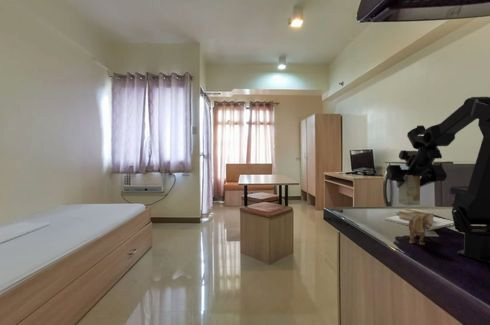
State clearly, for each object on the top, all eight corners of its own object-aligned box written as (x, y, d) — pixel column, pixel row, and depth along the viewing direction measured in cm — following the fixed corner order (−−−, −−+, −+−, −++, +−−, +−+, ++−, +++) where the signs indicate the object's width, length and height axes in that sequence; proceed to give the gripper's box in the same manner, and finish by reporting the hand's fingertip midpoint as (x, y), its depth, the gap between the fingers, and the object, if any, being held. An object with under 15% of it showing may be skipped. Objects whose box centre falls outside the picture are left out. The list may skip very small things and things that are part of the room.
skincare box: (407, 205, 98) (407, 173, 98) (397, 203, 102) (397, 172, 102) (420, 204, 100) (421, 172, 99) (410, 202, 104) (410, 172, 103)
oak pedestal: (420, 223, 95) (420, 215, 95) (399, 218, 103) (399, 210, 102) (433, 220, 99) (433, 212, 99) (412, 216, 106) (412, 208, 106)
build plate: (428, 230, 89) (428, 228, 89) (385, 219, 104) (385, 217, 104) (457, 223, 97) (457, 221, 97) (413, 214, 111) (413, 213, 111)
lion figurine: (432, 250, 72) (433, 217, 71) (409, 246, 74) (410, 215, 74) (424, 234, 85) (425, 207, 84) (405, 232, 87) (405, 205, 87)
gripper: (442, 142, 95) (425, 171, 106) (388, 143, 97) (376, 171, 108) (457, 165, 88) (436, 193, 99) (398, 165, 90) (384, 192, 101)
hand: (407, 186), depth 102 cm, fingers closed on skincare box, 7 cm apart
